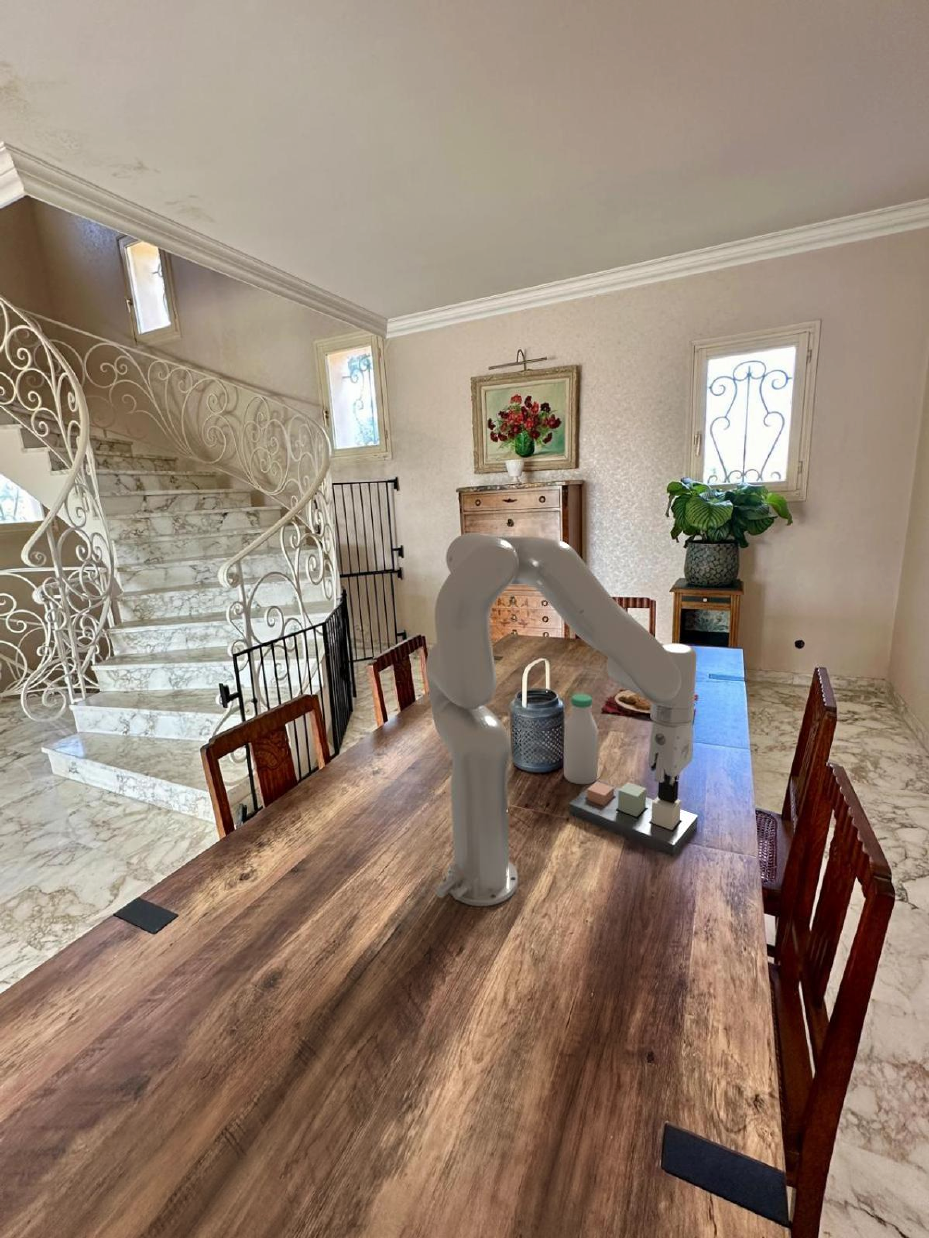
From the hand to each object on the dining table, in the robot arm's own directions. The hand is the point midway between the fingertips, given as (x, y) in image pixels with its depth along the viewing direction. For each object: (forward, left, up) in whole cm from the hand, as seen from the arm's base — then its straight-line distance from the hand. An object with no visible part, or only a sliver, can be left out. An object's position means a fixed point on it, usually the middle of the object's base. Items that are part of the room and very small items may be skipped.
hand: (667, 799), depth 108 cm
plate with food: (+61, +30, -8) cm, 68 cm away
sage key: (0, +7, -5) cm, 9 cm away
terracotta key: (0, +14, -7) cm, 16 cm away
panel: (0, +7, -7) cm, 10 cm away
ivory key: (0, 0, -5) cm, 5 cm away
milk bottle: (+9, +24, -8) cm, 27 cm away
